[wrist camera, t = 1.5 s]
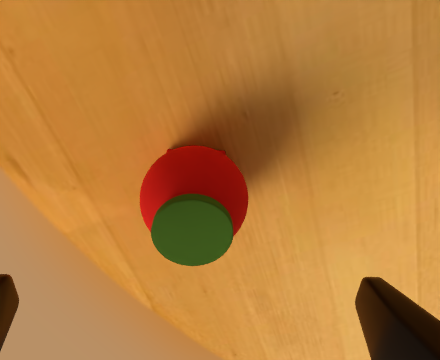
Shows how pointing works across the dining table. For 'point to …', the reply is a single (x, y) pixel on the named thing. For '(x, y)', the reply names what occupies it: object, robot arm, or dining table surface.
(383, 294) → the robot arm
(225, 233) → the strawberry
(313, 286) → the dining table surface
